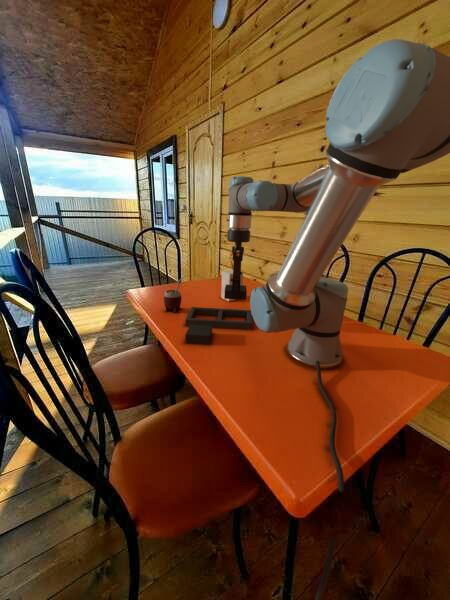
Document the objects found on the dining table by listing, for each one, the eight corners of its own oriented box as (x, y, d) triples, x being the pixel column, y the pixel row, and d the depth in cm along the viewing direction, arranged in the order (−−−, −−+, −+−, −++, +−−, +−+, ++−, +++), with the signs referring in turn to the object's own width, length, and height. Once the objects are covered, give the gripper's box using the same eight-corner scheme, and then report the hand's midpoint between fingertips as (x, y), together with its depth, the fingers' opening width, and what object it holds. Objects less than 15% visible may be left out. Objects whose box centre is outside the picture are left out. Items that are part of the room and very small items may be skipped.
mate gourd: (162, 308, 106) (160, 273, 101) (180, 305, 110) (179, 271, 105) (167, 314, 100) (166, 277, 95) (186, 311, 104) (186, 275, 99)
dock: (251, 329, 90) (252, 323, 89) (185, 325, 91) (185, 319, 90) (250, 315, 102) (250, 310, 101) (191, 312, 103) (191, 306, 102)
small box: (233, 295, 126) (235, 269, 122) (242, 298, 122) (243, 272, 117) (220, 297, 122) (221, 271, 117) (228, 301, 117) (230, 274, 113)
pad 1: (209, 344, 79) (209, 336, 78) (185, 343, 79) (185, 334, 78) (212, 333, 86) (212, 325, 85) (190, 332, 86) (190, 324, 85)
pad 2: (246, 300, 87) (246, 291, 86) (224, 298, 87) (224, 290, 86) (245, 293, 94) (246, 285, 93) (225, 292, 95) (225, 284, 94)
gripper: (228, 226, 93) (226, 286, 101) (226, 231, 74) (223, 304, 81) (249, 227, 93) (245, 287, 100) (252, 232, 73) (246, 305, 81)
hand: (235, 295), depth 91 cm, fingers closed on pad 2, 7 cm apart
